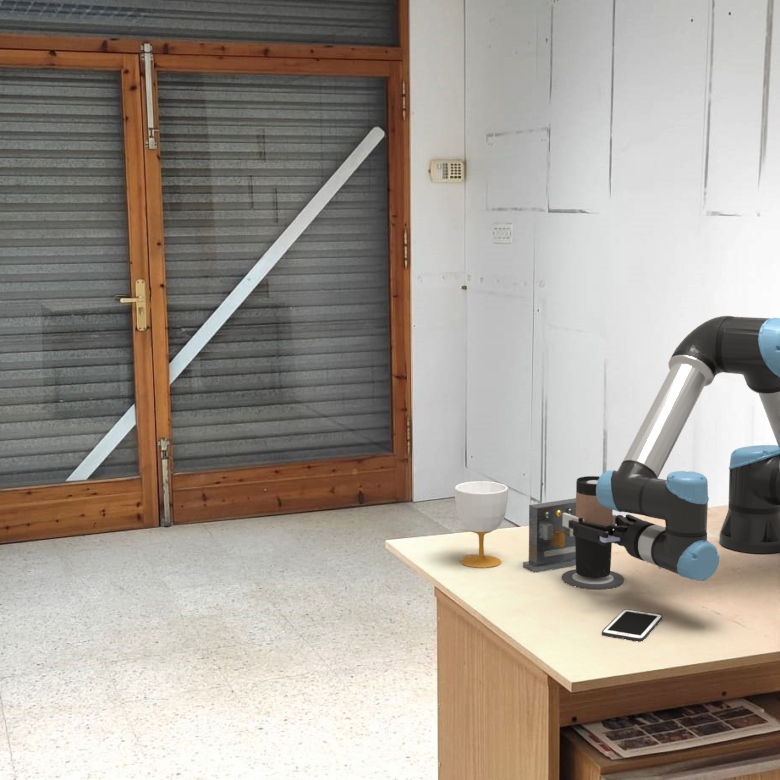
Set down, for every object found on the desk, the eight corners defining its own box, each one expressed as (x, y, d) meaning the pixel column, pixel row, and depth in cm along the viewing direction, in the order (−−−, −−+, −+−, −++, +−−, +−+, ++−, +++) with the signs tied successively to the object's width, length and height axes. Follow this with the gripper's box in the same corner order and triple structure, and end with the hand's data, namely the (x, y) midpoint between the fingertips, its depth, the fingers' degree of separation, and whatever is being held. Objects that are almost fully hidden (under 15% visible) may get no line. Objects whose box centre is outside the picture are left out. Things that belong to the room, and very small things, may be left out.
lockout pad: (633, 576, 239) (633, 573, 239) (610, 593, 228) (610, 590, 228) (576, 566, 246) (576, 564, 246) (551, 582, 235) (551, 580, 235)
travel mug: (567, 570, 239) (568, 478, 236) (598, 565, 242) (599, 474, 239) (587, 580, 232) (589, 485, 229) (618, 575, 235) (620, 482, 232)
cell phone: (600, 637, 205) (600, 632, 205) (624, 612, 218) (624, 607, 218) (641, 644, 202) (642, 639, 202) (664, 619, 214) (664, 614, 214)
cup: (516, 566, 247) (517, 490, 244) (467, 572, 243) (467, 495, 240) (493, 552, 258) (494, 479, 255) (446, 557, 254) (446, 483, 251)
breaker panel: (582, 556, 253) (583, 496, 251) (596, 562, 249) (597, 501, 247) (523, 567, 246) (523, 504, 244) (536, 573, 242) (537, 510, 240)
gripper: (609, 569, 216) (540, 540, 236) (690, 554, 225) (616, 527, 245) (610, 531, 214) (540, 505, 235) (691, 517, 224) (617, 493, 244)
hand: (579, 516), depth 240 cm, fingers closed on travel mug, 7 cm apart
